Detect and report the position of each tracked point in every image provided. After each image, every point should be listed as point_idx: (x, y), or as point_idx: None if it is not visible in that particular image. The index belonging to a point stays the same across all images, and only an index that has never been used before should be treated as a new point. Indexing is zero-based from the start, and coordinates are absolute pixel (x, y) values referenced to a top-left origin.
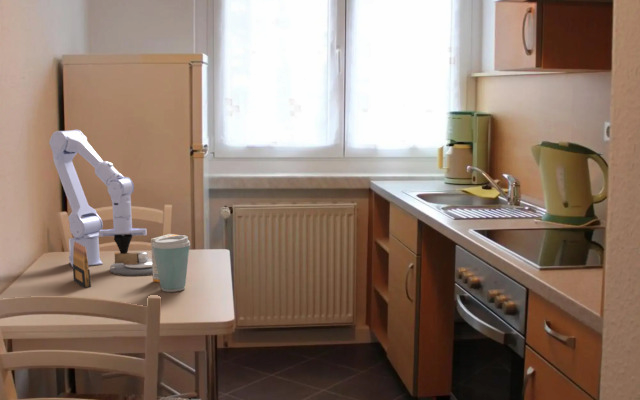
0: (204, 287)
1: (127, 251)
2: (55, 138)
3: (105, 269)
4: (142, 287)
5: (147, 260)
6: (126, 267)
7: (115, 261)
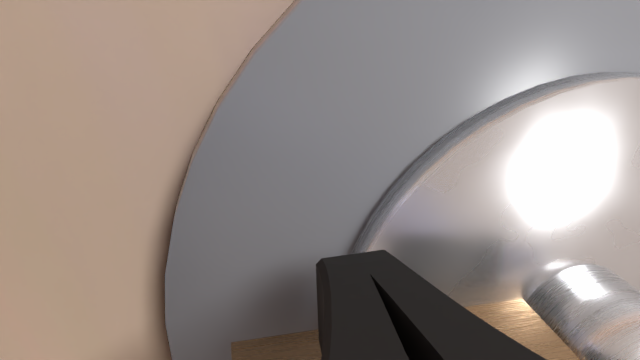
0: None
1: (445, 306)
2: None
3: (100, 325)
4: None
5: (633, 233)
6: None
7: None
